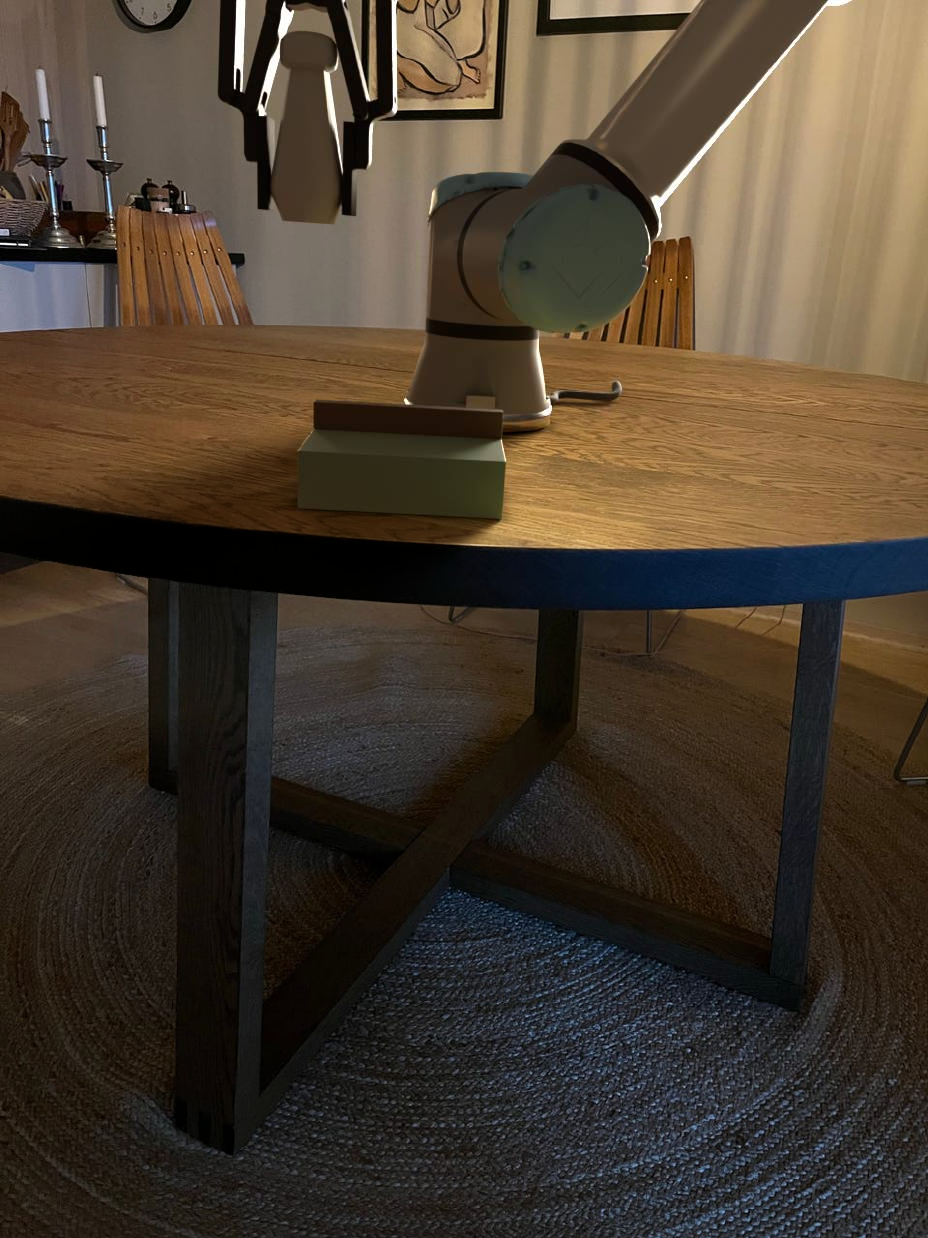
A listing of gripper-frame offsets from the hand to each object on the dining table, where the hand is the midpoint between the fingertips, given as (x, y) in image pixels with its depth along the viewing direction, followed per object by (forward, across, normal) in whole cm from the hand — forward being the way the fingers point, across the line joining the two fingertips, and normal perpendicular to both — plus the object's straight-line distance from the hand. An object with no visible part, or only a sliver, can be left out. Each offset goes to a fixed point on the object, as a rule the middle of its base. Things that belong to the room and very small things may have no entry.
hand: (307, 211), depth 78 cm
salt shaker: (+1, 0, 0) cm, 1 cm away
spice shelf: (+19, -10, +13) cm, 25 cm away
